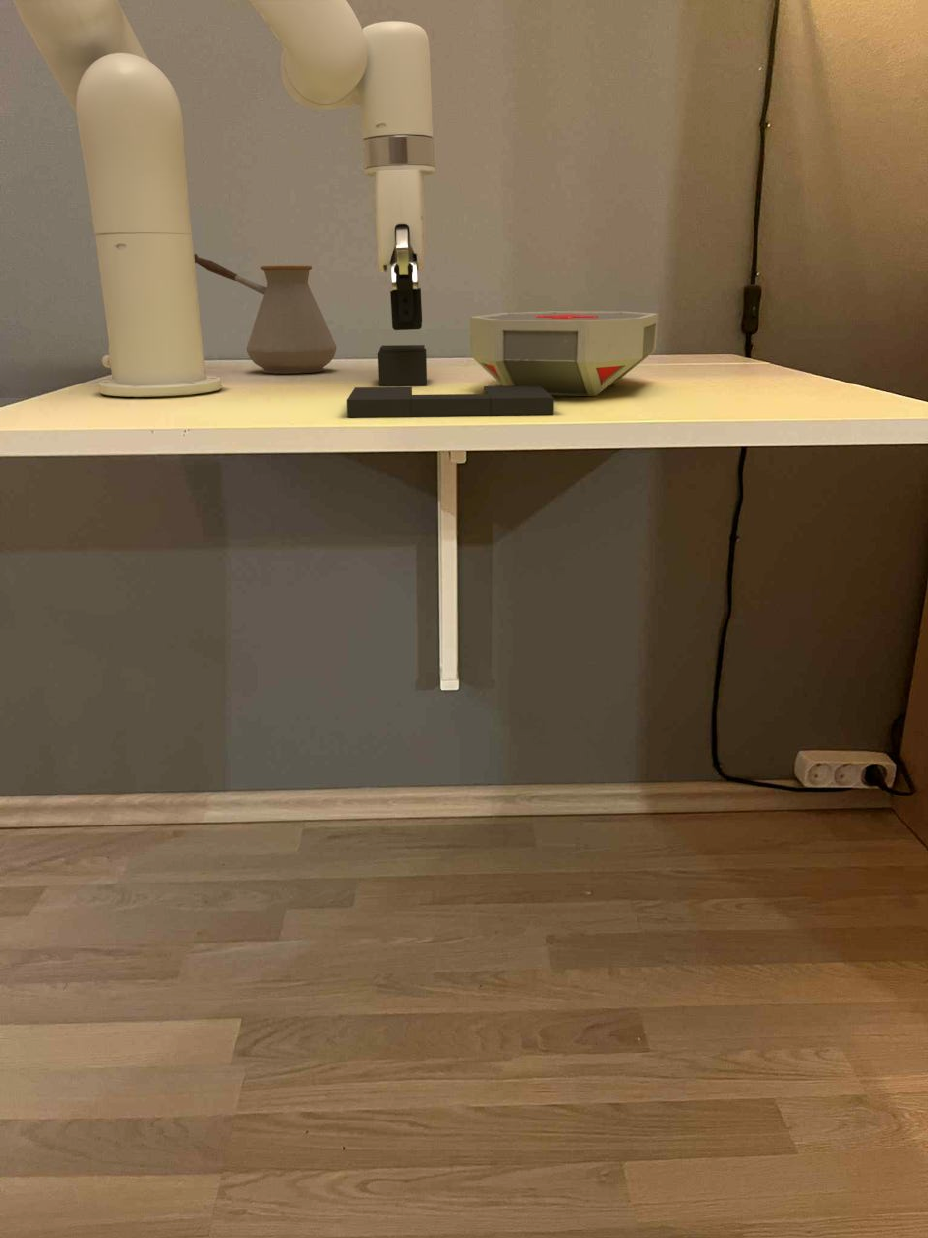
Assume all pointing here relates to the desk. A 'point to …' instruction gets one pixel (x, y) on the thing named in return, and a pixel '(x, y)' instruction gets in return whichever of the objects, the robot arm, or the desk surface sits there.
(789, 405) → the desk surface
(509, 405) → the base pad
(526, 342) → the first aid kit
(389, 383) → the black squarish block
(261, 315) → the coffee pot
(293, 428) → the desk surface
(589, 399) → the desk surface
